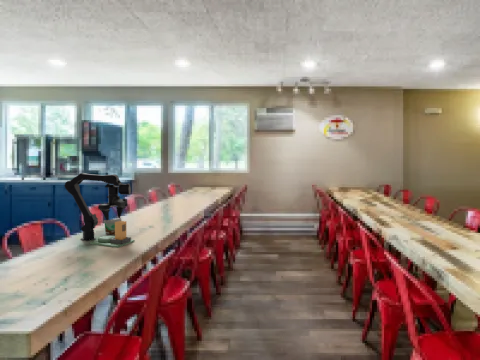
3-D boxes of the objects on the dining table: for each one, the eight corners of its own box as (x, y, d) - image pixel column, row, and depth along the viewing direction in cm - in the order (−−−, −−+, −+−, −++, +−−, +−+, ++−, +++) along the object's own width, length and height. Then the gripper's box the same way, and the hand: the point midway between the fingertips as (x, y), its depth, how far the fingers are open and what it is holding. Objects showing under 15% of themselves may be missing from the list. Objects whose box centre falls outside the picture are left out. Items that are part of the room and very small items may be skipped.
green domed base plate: (90, 243, 190) (90, 238, 189) (108, 238, 204) (108, 232, 203) (117, 247, 183) (117, 241, 183) (134, 241, 197) (134, 236, 197)
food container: (108, 236, 209) (108, 221, 208) (103, 234, 213) (103, 219, 212) (125, 232, 219) (125, 218, 218) (120, 231, 223) (120, 217, 222)
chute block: (115, 242, 190) (114, 222, 189) (120, 240, 194) (120, 220, 193) (121, 243, 188) (121, 222, 187) (126, 241, 193) (126, 221, 192)
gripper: (110, 196, 187) (110, 223, 188) (133, 194, 204) (133, 218, 205) (97, 195, 192) (97, 221, 193) (121, 192, 209) (121, 216, 210)
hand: (113, 219), depth 200 cm, fingers open, 9 cm apart
